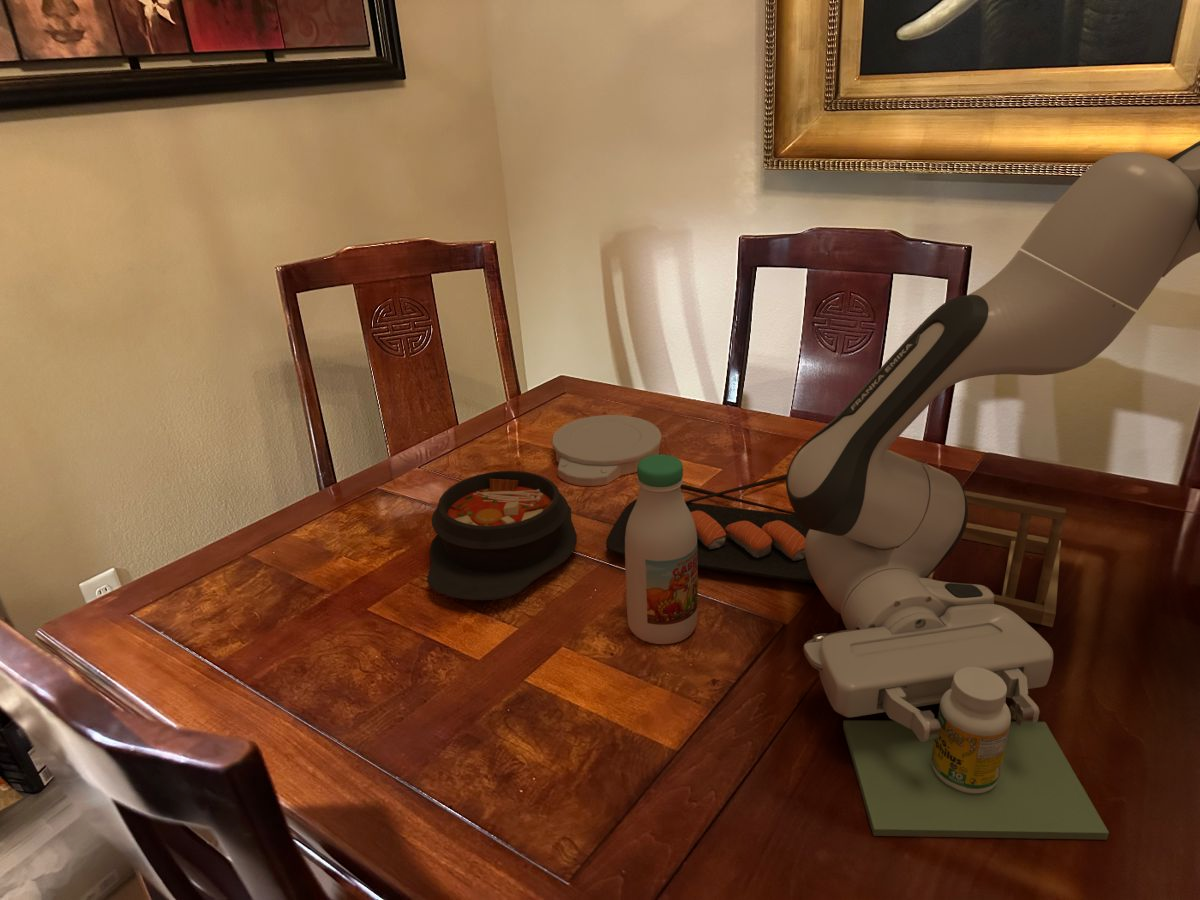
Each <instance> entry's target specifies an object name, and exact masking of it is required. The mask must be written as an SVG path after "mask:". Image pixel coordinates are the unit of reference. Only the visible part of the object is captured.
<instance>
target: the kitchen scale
mask: <svg viewBox="0 0 1200 900" xmlns="http://www.w3.org/2000/svg"><path fill="white" fill-rule="evenodd" d="M662 441H663V436H662V432H661V430H660V428H658V427H657V426H656V425H655V424H654V423H652V422H651V421H648V420H646V419H643V418H641V417H635V416H631V415H624V414H623V415H622V414H599V415H591V416H586V417H582V418H578V419H576V420H572V421H570V422H567V423H565V424H564V425H562V426H561V427H559V428H558V429H556V431H555V433H554V434H553V435H552V437H551V443H552V445H551V446H552V449H553V450H554V451H555V460H556V462H557V463H558V466H557V477H558V478H559V479H561V480H562V481H564V482H565V483H566V484H567V483H568V484H571V485H575V486H578V487H599V486H607V485H609V484H610V483H612V482H613V481H615V480H617V479H618V478H620V477H622V476H626V475H630V474H635V473H637V465H638V462H639V461H640V460H641V459H643V458H645V457H647V456H650V455H657V454H660V446H661V444H662Z"/></svg>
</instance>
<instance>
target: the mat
mask: <svg viewBox="0 0 1200 900" xmlns="http://www.w3.org/2000/svg"><path fill="white" fill-rule="evenodd" d="M842 728H843V732H844V736H845V740H846V742H847V746H848V750H849V754H850V757H851V761H852V765H853V768H854V772H855V775H856V779H857V783H858V785H859V789H860V793H861V796H862V800H863V804H864V808H865V811H866V814H867V818H868V823H869V826H870V830H871V833H872V836H873V837H914V838H915V837H916V838H917V837H921V838H974V839H975V838H976V839H977V838H980V839H983V838H984V839H1036V840H1037V839H1042V840H1043V839H1044V840H1046V839H1047V840H1093V841H1094V840H1099V841H1101V840H1102V841H1103V840H1104V841H1107V840H1108V839H1109V835H1110V832H1109V829H1108V828H1107V826H1106V825H1105V823H1104V821H1103V820H1102V818H1101V816H1100V815H1099V813H1098V811H1097V809H1096V808H1095V806H1094V804H1093V802H1092V800H1091V798H1090V797H1089V796H1088V793H1087V792H1086V790H1085V788H1084V787H1083V785H1082V783H1081V781H1080V779H1078V776H1077V775H1076V773H1075V771H1074V769H1073V768H1072V766H1071V764H1070V762H1069V761H1068V759H1067V757H1066V756H1065V754H1064V752H1063V751H1062V749H1061V747H1060V745H1059V743H1058V742H1057V740H1056V738H1055V736H1054V735H1053V733H1052V731H1051V729H1050V728H1049V726H1048V724H1047V722H1045V721H1038V722H1037V723H1033V724H1027V725H1021V726H1020V725H1018V724H1017V723H1016V721H1011V723H1010V728H1009V733H1008V738H1007V742H1006V748H1005V753H1004V757H1003V762H1002V767H1001V772H1000V776H999V780H998V782H997V784H996V785H995V786H994V787H993V788H992V789H991V790H989V791H986V792H983V793H976V794H974V793H966V792H962V791H959V790H957V789H955V788H953V787H951V786H949V785H947V784H946V783H944V782H943V781H942V780H941V779H940V778H939V777H938V776H937V775H936V773H935V772H934V769H933V767H932V763H931V760H932V751H933V745H934V740H931V741H925V742H921V741H920V740H919V739H918V738H917V736H916V735H915V733H914V732H913V730H912V729H909V728H907V727H905V726H903V725H902V724H900V723H898V722H896V721H894V720H860V719H859V720H857V719H856V720H848V719H846V720H843V722H842Z"/></svg>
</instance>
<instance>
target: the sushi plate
mask: <svg viewBox="0 0 1200 900" xmlns="http://www.w3.org/2000/svg"><path fill="white" fill-rule="evenodd" d="M786 476H787V473H785V474H782V475H778V476H775V477H771V478H766V479H763V480H760V481H755V482H752V483H748V484H745V485H742V486H738V487H734V488H730V489H726V490H723V491H719V492H715V491H711V490H709V489H708V490H707V489H703V488H700V487H695V486H692V485H687V484H684V483H682V485H681V486H680V487H681V490H684V491H689V492H693V493H697V494H702V495H703V496H700V497H696V498H692V499H688V500H684V501H685V503H686V505H687V507H688V509H689V511H690V513H691V515H692V517H693V520H694V523H695V527H696V533H697V549H698V569H699V568H700V569H706V570H713V571H720V572H725V573H726V572H727V573H734V574H740V575H748V576H755V577H761V578H767V579H768V578H769V579H775V580H782V581H790V582H796V583H803V584H804V583H806V584H815V585H816V583H815V581H814V579H813V577H812V575H811V573H810V571H809V568H808V565H807V561H806V556H805V539H806V536H807V533H808V531H809V529H808V528H806V527H805V526H804V525H803V524H802V523H801V522H800V520H799V519H798V517H797V515H796V514H795V512H794V511H793V510H787V509H783V508H779V507H775V506H772V505H767V504H764V503H759V502H755V501H751V500H747V499H742V498H738V497H735V496H730V495H727V494H731V493H735V492H739V491H743V490H744V491H745V490H747V489H752V488H756V487H761V486H764V485H769V484H773V483H777V482H778V483H779V482H782V481H786ZM714 497H715V498H721V499H725V500H729V501H733V502H737V503H738V502H739V503H742V504H747V505H750V506H755V507H758V508H764V509H768V510H772V512H771V511H765V510H756V509H748V508H741V507H740V508H739V507H733V506H732V507H731V506H724V505H715V504H707V503H706V504H705V503H698V502H699V501H703V500H706V499H710V498H714ZM636 501H637V499H634V500H633V501H630V503H628V504H627V505H626V506H625V508H624V509H623V510H622V512H621V513H620V515H619V516H618V518H617V519H616V521H615V523H614V524H613V526H612V527H611V529H610V532H609V533H608V535H607V538H606V541H605V547H606V549H607V551H608V552H611V553H612V554H615V555H617V556H618V555H619V556H622V557H625V534H626V527H627V522H628V519H629V516H630V514H631V512H632V510H633V508H634V506H635V504H636ZM773 511H776V512H773Z"/></svg>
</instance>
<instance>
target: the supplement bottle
mask: <svg viewBox="0 0 1200 900" xmlns="http://www.w3.org/2000/svg"><path fill="white" fill-rule="evenodd" d="M1006 694H1007V686H1006V684H1005V682H1004V681H1003V679H1002V678H1001V677H999V676H998V675H997V674H995V673H993V672H991V671H989V670H986V669H983V668H979V667H965V668H962V669H959V670H958V671H957V672H956V673H955V674H954V677H953V681H952V685H951V688H950V689H949V690H947V691H946V692H945V693H944V695H943V696H942V698H941V702H940V703H939V706H938V707H939V708H938V713H937V714H938V715H937V720H938V721H939V723H940V725H941V731H940V733H939V735H940V737H939V739H936V740H934V745H933V751H932V760H931V763H932V767H933V769H934V772H935V773H936V775H937V776H938V777H939V778H940V779H941V780H942V781H943V782H944V783H946V784H947V785H949V786H951V787H953V788H955V789H957V790H959V791H962V792H966V793H974V794H976V793H983V792H986V791H989V790H991V789H992V788H993V787H994V786H995V785H996V784H997V782H998V780H999V776H1000V772H1001V767H1002V762H1003V757H1004V753H1005V748H1006V742H1007V738H1008V733H1009V728H1010V723H1011V722H1012V717H1011V713H1010V710H1009V706H1008V705H1007V703H1006V699H1007V697H1006Z"/></svg>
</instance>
